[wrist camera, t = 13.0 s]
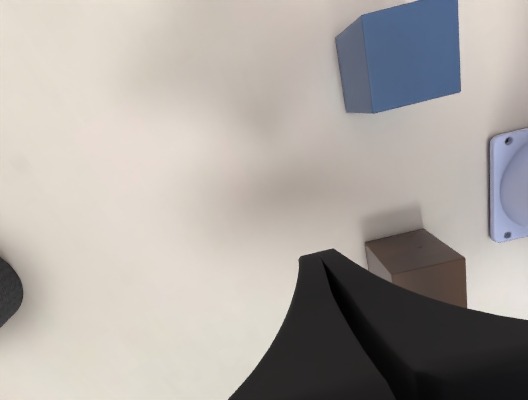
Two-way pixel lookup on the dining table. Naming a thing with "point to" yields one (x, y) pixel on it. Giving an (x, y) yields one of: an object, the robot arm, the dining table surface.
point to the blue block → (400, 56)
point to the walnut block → (420, 265)
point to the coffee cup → (9, 292)
